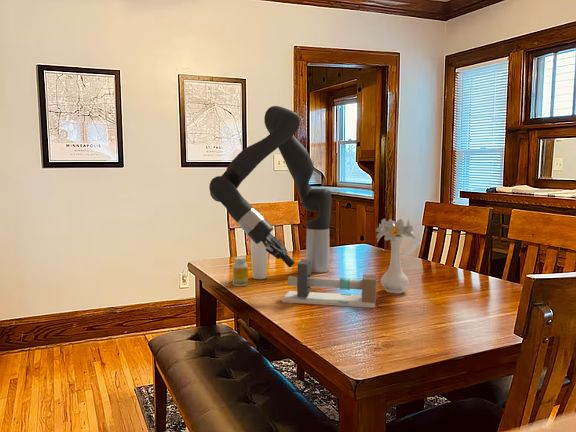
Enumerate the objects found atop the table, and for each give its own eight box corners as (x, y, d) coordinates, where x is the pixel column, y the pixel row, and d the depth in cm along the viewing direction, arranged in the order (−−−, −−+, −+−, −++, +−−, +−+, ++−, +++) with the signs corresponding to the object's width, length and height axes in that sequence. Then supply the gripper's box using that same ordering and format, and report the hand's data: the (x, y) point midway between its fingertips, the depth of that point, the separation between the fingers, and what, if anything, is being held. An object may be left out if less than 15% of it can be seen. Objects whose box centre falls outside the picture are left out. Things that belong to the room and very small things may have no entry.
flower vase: (402, 284, 179) (404, 215, 177) (421, 297, 161) (423, 221, 159) (367, 284, 178) (368, 215, 176) (382, 298, 160) (384, 221, 157)
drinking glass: (266, 280, 183) (266, 240, 182) (248, 279, 185) (248, 239, 183) (270, 276, 190) (270, 237, 188) (253, 275, 191) (253, 237, 190)
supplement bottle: (230, 283, 178) (230, 257, 177) (244, 282, 181) (244, 256, 180) (235, 287, 174) (235, 260, 173) (250, 285, 176) (250, 258, 175)
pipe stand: (282, 302, 155) (282, 276, 154) (288, 293, 166) (289, 269, 165) (374, 307, 149) (375, 281, 148) (375, 298, 160) (376, 273, 159)
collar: (297, 296, 155) (297, 263, 154) (301, 290, 163) (301, 259, 162) (306, 297, 155) (307, 264, 154) (310, 290, 162) (310, 259, 161)
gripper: (252, 231, 167) (288, 268, 165) (241, 236, 154) (279, 277, 153) (268, 215, 165) (304, 253, 164) (258, 220, 152) (297, 261, 151)
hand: (292, 265), depth 158 cm, fingers closed
